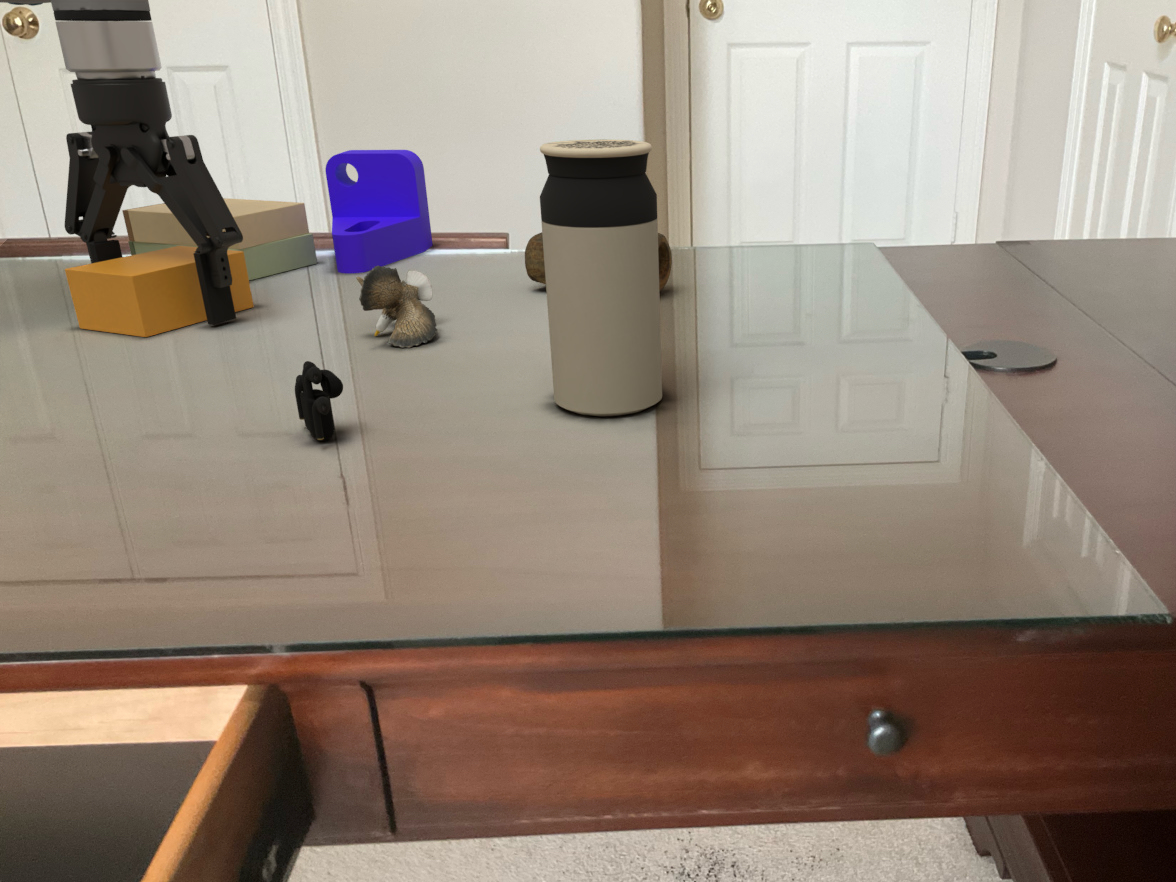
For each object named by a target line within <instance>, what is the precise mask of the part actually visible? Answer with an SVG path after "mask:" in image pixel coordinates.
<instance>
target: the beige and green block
mask: <svg viewBox="0 0 1176 882" xmlns="http://www.w3.org/2000/svg"><path fill="white" fill-rule="evenodd" d="M223 199H224V201H225V203H226V205H227V207H228V208H229V210H230V212H231V214H232V216H233V218H234V220H235V222H236V223H237V225H238V227H239V229H240V231H241V233H242V235H243V241H242V242H241V243H237V244H234V245H232V246H230V247H229V248H228V250H233V251H243V252H244V257H245V262H246V267H247V273H248V278H249V281H252V280H256V279H261V278H265V277H269V276H273V275H277V274H280V273H284V272H289V271H293V270H297V269H300V268H304V267H305V268H306V267H308V266H309V267H310V266H312V265H316V264H318V259H317V258H318V257H317V252H316V245H315V240H314V234H313V233H311V232H310V230H309V223H308V217H307V211H306V204H305V202H298V201H297V202H296V201H282V200H281V201H279V200H262V199H261V200H260V199H244V198H228V197H227V198H226V197H223ZM122 216H123V220H124V224H125V228H126V233H127V237H128V247H129V251H130V256H131V255H136V254H141V253H146V252H151V251H156V250H161V249H166V248H171V247H176V246H189V247H198V246H197V245H196V243H195V242H194V241H193V239H192V238H191V237H190V236H189V234H188V233H187V232H186V230H185V229H184V228H183V226H182V225H181V224H180V223H179V221H178V220H177V219H176V217H175V216H174V215H173V213H172V212H171V211H170V210H169V208H168V207H167V206H166V204H165V203H164V202H162V203H157V204H151V205H146V206H139V207H133V208H127V209H122ZM222 231H223V232H226V231H225V229H223V230H222ZM207 237H208V238H209V236H207Z"/></svg>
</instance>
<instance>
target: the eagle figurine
mask: <svg viewBox="0 0 1176 882" xmlns="http://www.w3.org/2000/svg"><path fill="white" fill-rule="evenodd" d="M374 268H375V269H374ZM374 268H372V270H370V271H368V272H367V273H366V275H365V276H364V277H363V278H362V277H360V276H356V277H355V279H356V281H357V282H358V283H359V284H360V286H361V288H360V295H359V302H360V305H361V306H362V310H363V311H366V312H368V311H369V312H371V311H377V310H382V311H381V314H380V316H379V317H378V321H377V322H376V325H375V331H374V334H373V337H377V336H378V335H380V334H381V333H383V332H385V331H386V330H387V328H388V326H390V325H391V324H392V322H394V321H395V325H394V329H393V331H392V333H391V335H390V336H389V338H388V341H387V343H388V344H392V345H393V346H394V347H399V348H401V349H405V348H409V349H410V348H412V347H414V346H416V347H417V346H420V345H421V344H422V343H423V344H427V343H428V341H432V340H433V338H434V337H435V336H436V335H437V330H438V329H437V323H436V315H435V314H434V312H433V311H432V310H431V309H430V308H429V307H427V306H426V305H425V304H423V303H422V302H428V301H431V300H432V299H433V294H434V293H433V285H432V283H431V281H430V278H429V277H428V276H426V274H424V273H422V272H420V271H417V270H415V269H409V270H408V271H407V273H406V276H405V280H401V278H400V275H399V272H398V269H397V267H394V268H393V267H385V266H382V267H381V266H375V267H374Z"/></svg>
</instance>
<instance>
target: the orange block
mask: <svg viewBox="0 0 1176 882" xmlns="http://www.w3.org/2000/svg"><path fill="white" fill-rule="evenodd" d="M197 248H198V247H189V246H176V247H171V248H166V249H161V250H156V251H151V252H146V253H141V254H136V255H131V254H130V255H126V256H122V257H121V258H116V259H111V260H106V261H102V262H97V263H86V264H82V265H77V266H72V267H67V268H64V273H65V277H66V281H67V284H68V288H69V292H70V296H71V300H72V303H73V307H74V311H75V316H76V318H77V323H78V327H79V329H80V330H81V329H82V330H89V331H97V332H103V333H112V334H119V335H127V336H134V337H142V338H148V337H152V336H156V335H159V334H163V333H166V332H170V331H173V330H177V329H180V328H181V329H182V328H183V327H188V326H191V325H194V324H198V323H201V322H206V321H207V317H206V312H205V307H204V302H203V297H202V292H201V288H200V283H199V278H198V273H197V268H196V264H195V259H194V254H193V253H195V251H196V249H197ZM227 255H228V260H229V265H230V270H231V275H232V285H230V289H231V294H232V299H233V304H234V309H235V313H237V312H241V311H245V310H248V309H252V308H254V307H255V306H254V300H253V295H252V290H251V284H250V280H249V278H248V273H247V267H246V262H245V257H244V252H243V251H233V250H227Z"/></svg>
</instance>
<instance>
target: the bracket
mask: <svg viewBox="0 0 1176 882" xmlns="http://www.w3.org/2000/svg"><path fill="white" fill-rule="evenodd" d="M348 165H350V166H352V167H353V168H354V169H355V170H356V173H357V180H356V181H355V180H353V179H352V178H351V177H350V176H349V174H348V171H347V166H348ZM425 175H426V174H425V168H424V163H423V161H422V159H421V158H420V156H419V155H417V154H416V153H415V152H413V151H411V150H409V149H348V150H345V151H342V152H339V153H337V154H334V155H331V157H330V158H329V159H328V160H327V161H326V165H325V177H326V184H327V190H328V196H329V203H330V204H329V205H330V209H331V210H330V211H331V216H332V218H331V238H332V245H333V250H334V256H335V257H334V258H335V263H336V270H337V273H340V274H362V273H368V272H370V270H372V268H374V267H375V266H381V267H385V266H388V265H391V264H395V263H396V262H399V261H402V260H405V259H408V258H411V257H414V256H416V255H419V254H423V253H425V252H426V251H428V250H429V249H430V248H431V247H433V238H432V237H433V235H432V228H431V220H430V219H431V218H430V211H429V210H430V209H429V202H428V201H429V200H428V193H427V184H426V176H425ZM374 269H375V268H374Z"/></svg>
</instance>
